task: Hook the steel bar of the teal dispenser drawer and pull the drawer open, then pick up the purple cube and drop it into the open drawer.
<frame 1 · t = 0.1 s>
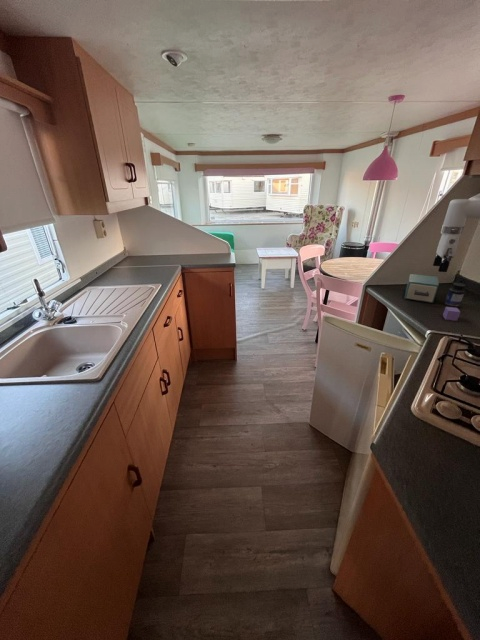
hand: (439, 268, 123), 19 cm above the counter, tool pointing down, fingers open, 9 cm apart
drawer: (421, 290, 138), point 5 cm above the counter, slide at 0.0 cm
pill bottle: (451, 305, 132), on the counter
purple cube: (449, 318, 120), on the counter
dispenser: (418, 296, 143), on the counter
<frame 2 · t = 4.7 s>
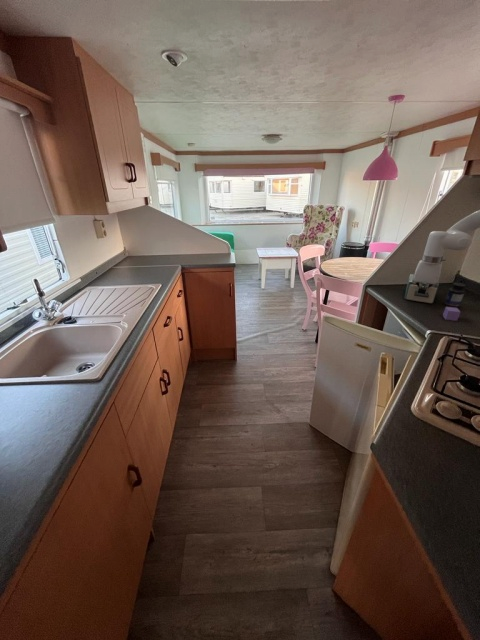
hand: (420, 295, 132), 5 cm above the counter, tool pointing down, fingers closed
drawer: (421, 291, 136), point 5 cm above the counter, slide at 1.6 cm, touching gripper
everything else where it was.
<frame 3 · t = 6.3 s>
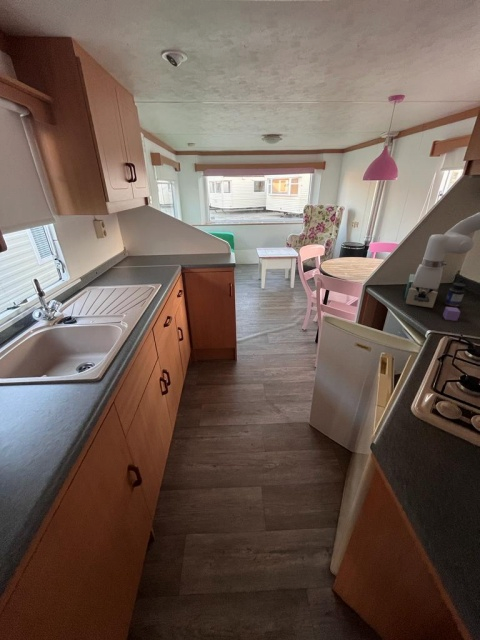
hand: (420, 300, 127), 4 cm above the counter, tool pointing down, fingers closed
drawer: (421, 295, 132), point 5 cm above the counter, slide at 7.9 cm
everything else where it was.
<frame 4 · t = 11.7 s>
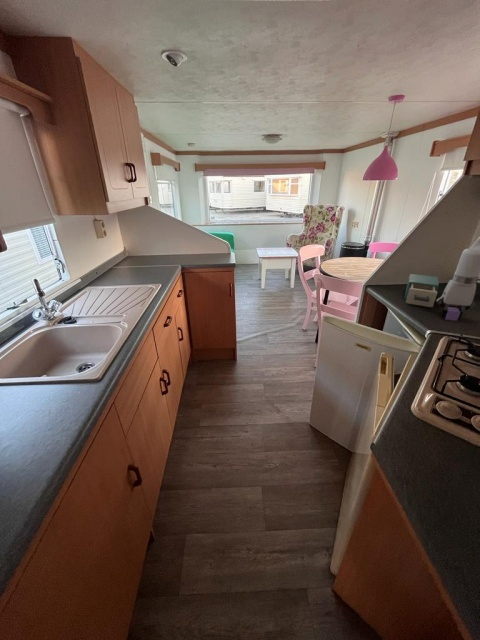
hand: (450, 317, 120), 0 cm above the counter, tool pointing down, fingers closed on purple cube, 4 cm apart
drawer: (421, 295, 132), point 5 cm above the counter, slide at 7.3 cm
purple cube: (449, 318, 120), on the counter, touching gripper
everything else where it was.
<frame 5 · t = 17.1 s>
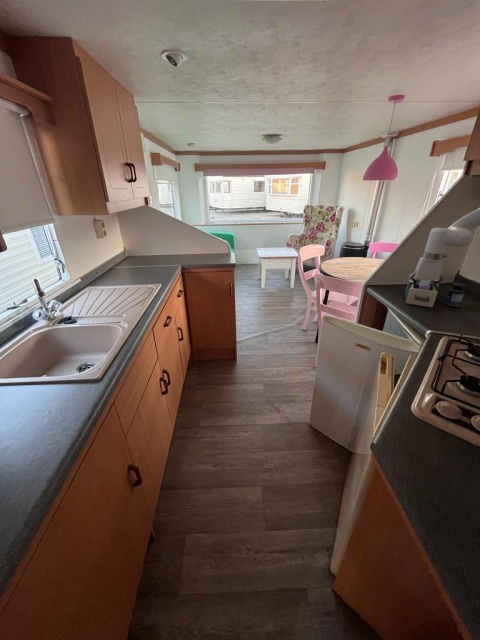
hand: (421, 292, 132), 6 cm above the counter, tool pointing down, fingers closed on purple cube, 4 cm apart
drawer: (421, 295, 132), point 5 cm above the counter, slide at 7.3 cm, touching gripper
purple cube: (421, 292, 132), point 6 cm above the counter, touching gripper
everything else where it was.
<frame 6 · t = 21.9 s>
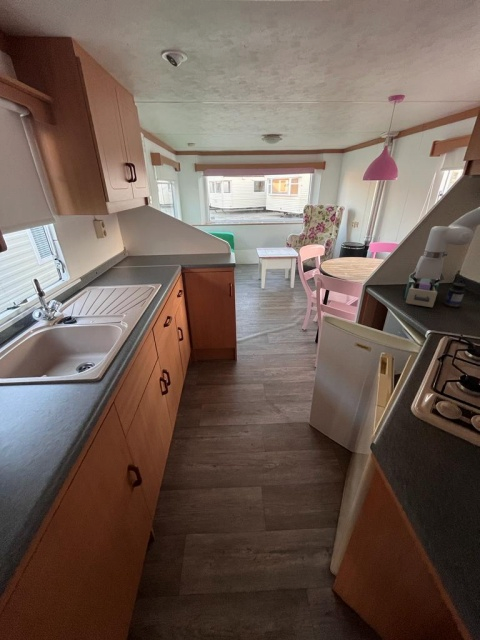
hand: (422, 290, 131), 7 cm above the counter, tool pointing down, fingers closed on purple cube, 4 cm apart
drawer: (421, 295, 132), point 5 cm above the counter, slide at 7.4 cm
purple cube: (421, 291, 131), point 7 cm above the counter, touching gripper
everything else where it was.
when the fingers open (8 cm above the counter, at t = 26.3 s): purple cube drops 6 cm, resting on drawer.
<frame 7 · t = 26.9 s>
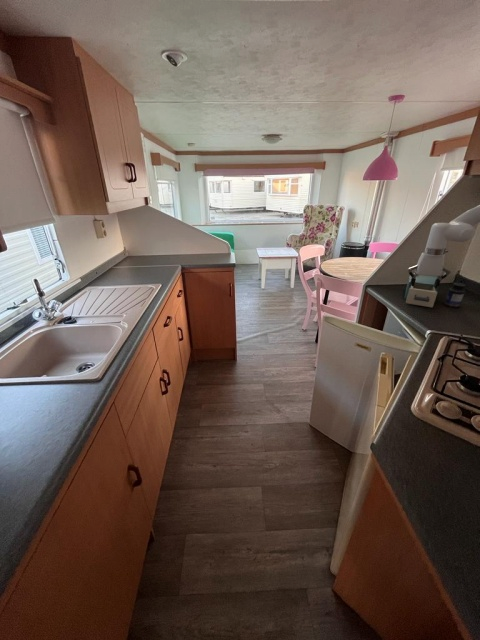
hand: (423, 286, 130), 9 cm above the counter, tool pointing down, fingers open, 9 cm apart
drawer: (421, 295, 132), point 5 cm above the counter, slide at 7.4 cm, touching purple cube
purple cube: (419, 300, 133), point 2 cm above the counter, touching drawer
everything else where it was.
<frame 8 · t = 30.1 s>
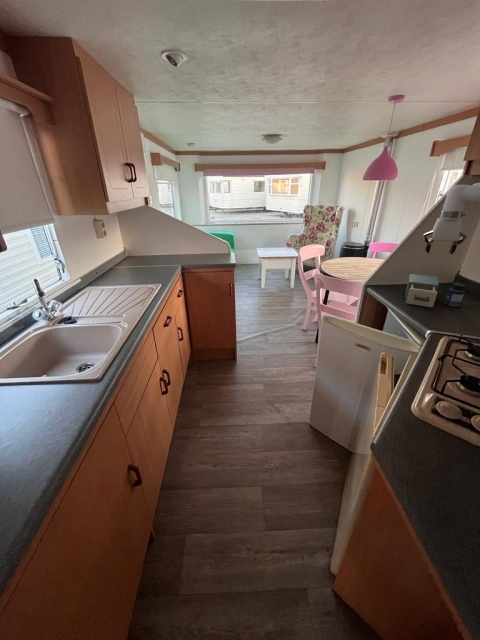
hand: (439, 252, 128), 24 cm above the counter, tool pointing down, fingers open, 9 cm apart
nothing on the counter moved.
at the end: drawer slide at 7.4 cm; purple cube inside the target area in the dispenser (7.9 cm from its centre), point 2.0 cm above the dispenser's base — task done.
